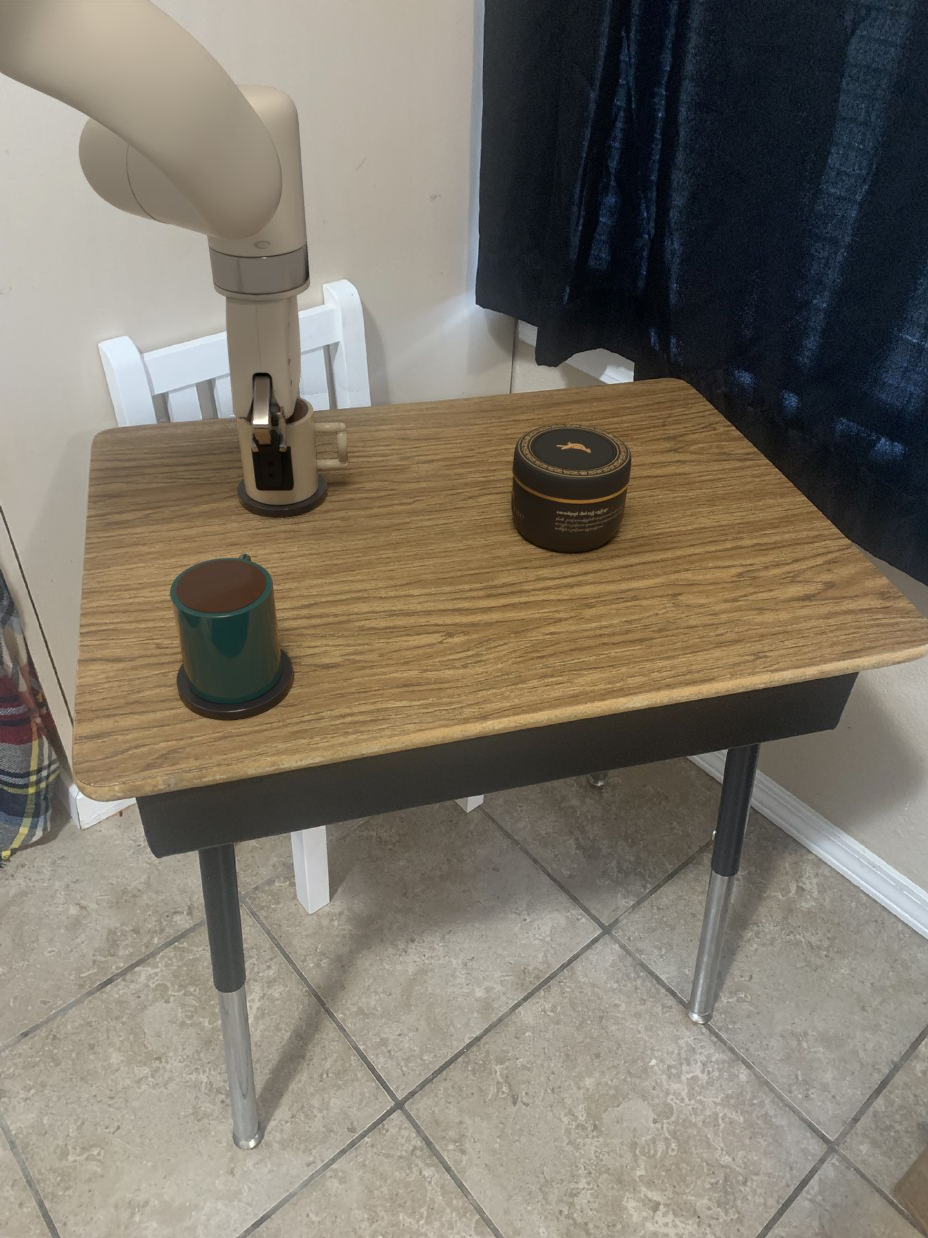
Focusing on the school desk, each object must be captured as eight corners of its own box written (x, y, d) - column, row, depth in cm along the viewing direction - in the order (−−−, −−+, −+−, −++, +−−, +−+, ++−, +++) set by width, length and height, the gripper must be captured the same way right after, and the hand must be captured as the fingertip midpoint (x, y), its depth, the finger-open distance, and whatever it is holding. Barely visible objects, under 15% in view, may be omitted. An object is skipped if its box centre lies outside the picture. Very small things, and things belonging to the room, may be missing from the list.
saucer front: (177, 727, 65) (175, 718, 65) (178, 651, 71) (176, 643, 71) (297, 712, 67) (297, 703, 66) (289, 639, 73) (288, 630, 72)
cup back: (242, 506, 86) (232, 428, 81) (247, 469, 91) (238, 393, 86) (349, 503, 87) (345, 425, 82) (348, 466, 92) (344, 391, 87)
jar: (498, 499, 89) (503, 423, 85) (604, 492, 91) (614, 417, 86) (521, 561, 82) (527, 482, 77) (636, 553, 83) (649, 474, 78)
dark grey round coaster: (239, 521, 85) (238, 513, 85) (236, 475, 91) (235, 468, 91) (331, 513, 87) (330, 505, 86) (322, 468, 93) (321, 461, 92)
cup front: (271, 707, 66) (260, 619, 61) (174, 701, 66) (156, 613, 61) (297, 621, 73) (289, 537, 69) (210, 616, 73) (196, 531, 69)
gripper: (227, 230, 83) (250, 419, 94) (192, 306, 69) (223, 517, 80) (316, 232, 83) (328, 419, 94) (299, 307, 70) (315, 517, 81)
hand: (280, 463), depth 87 cm, fingers open, 7 cm apart
